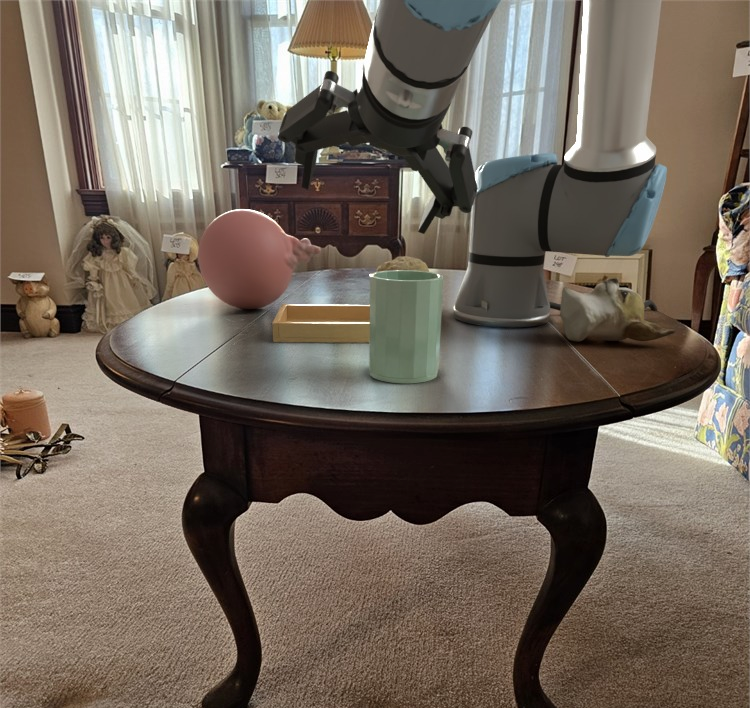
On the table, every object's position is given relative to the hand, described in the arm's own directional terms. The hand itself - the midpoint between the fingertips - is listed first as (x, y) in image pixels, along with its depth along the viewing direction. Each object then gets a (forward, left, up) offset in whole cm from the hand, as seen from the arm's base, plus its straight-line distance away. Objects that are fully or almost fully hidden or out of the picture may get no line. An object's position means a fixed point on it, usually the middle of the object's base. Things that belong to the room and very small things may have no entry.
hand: (367, 200), depth 72 cm
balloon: (+17, -34, -18) cm, 42 cm away
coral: (-7, -40, -19) cm, 45 cm away
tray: (+4, -17, -18) cm, 25 cm away
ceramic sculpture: (-34, -12, -19) cm, 41 cm away
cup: (-4, +5, -18) cm, 19 cm away
